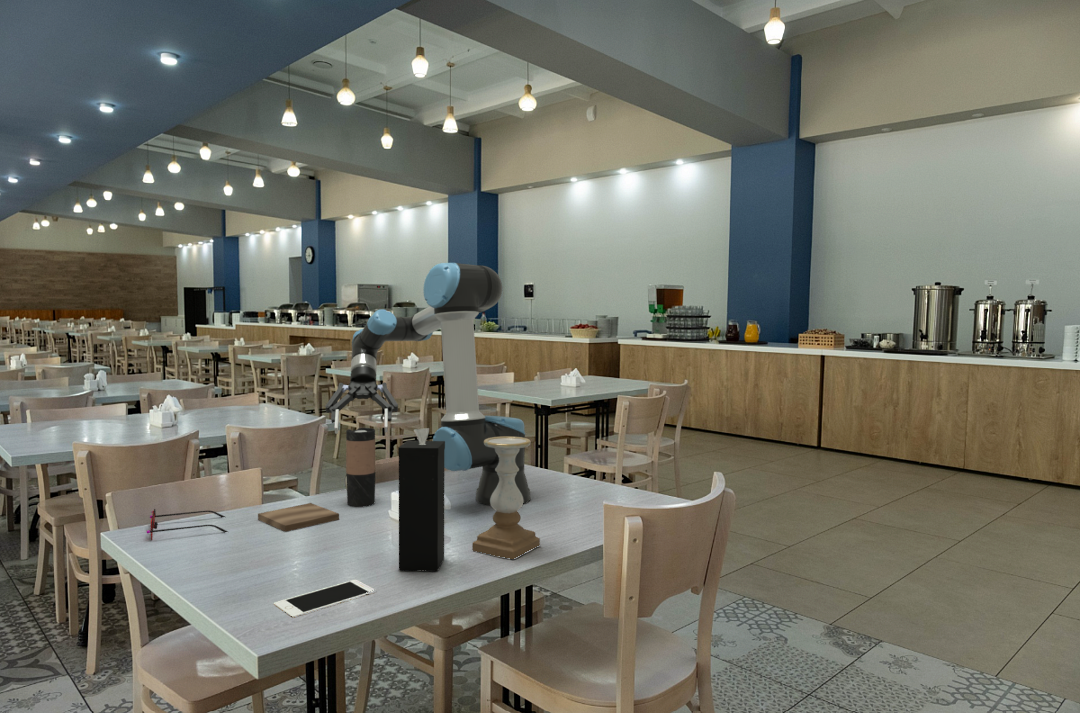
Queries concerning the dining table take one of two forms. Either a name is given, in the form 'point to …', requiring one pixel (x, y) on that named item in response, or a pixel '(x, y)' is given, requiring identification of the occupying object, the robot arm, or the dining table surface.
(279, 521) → the walnut board
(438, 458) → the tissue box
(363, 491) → the travel mug
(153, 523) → the glasses
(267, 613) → the dining table surface
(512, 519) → the candle holder
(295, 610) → the cell phone
